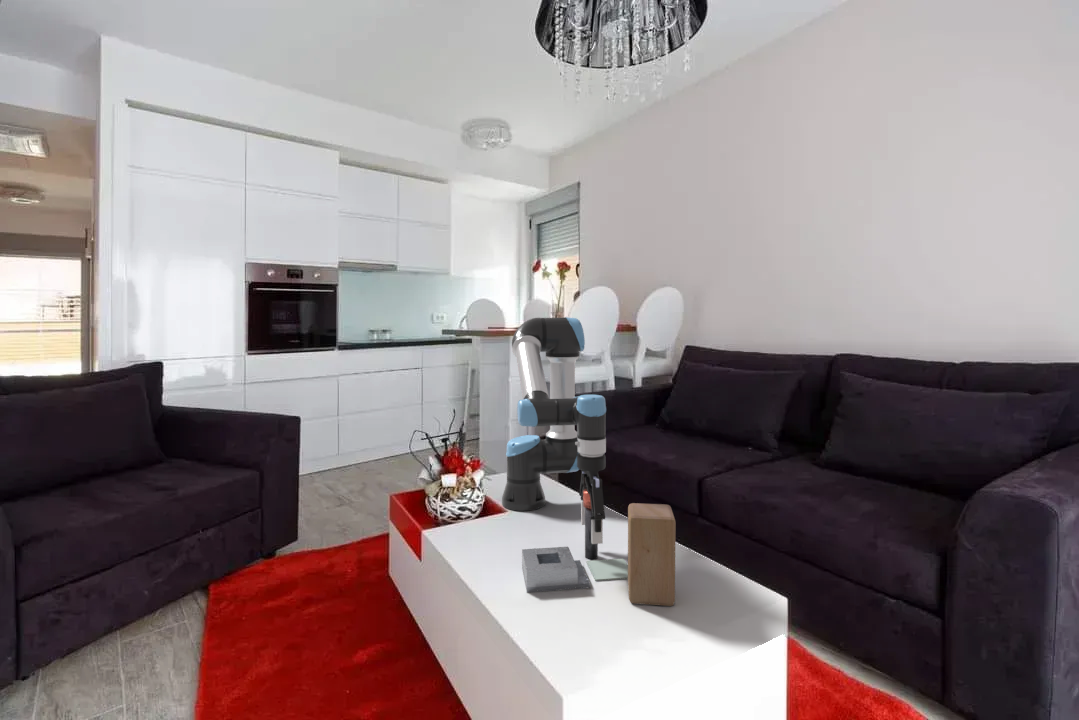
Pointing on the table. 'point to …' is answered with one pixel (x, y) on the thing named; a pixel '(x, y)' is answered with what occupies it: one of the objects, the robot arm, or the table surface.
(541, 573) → the grey hollow block
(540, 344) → the robot arm
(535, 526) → the table surface
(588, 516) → the red capped rod
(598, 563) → the mat
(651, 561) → the wooden block
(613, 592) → the table surface
